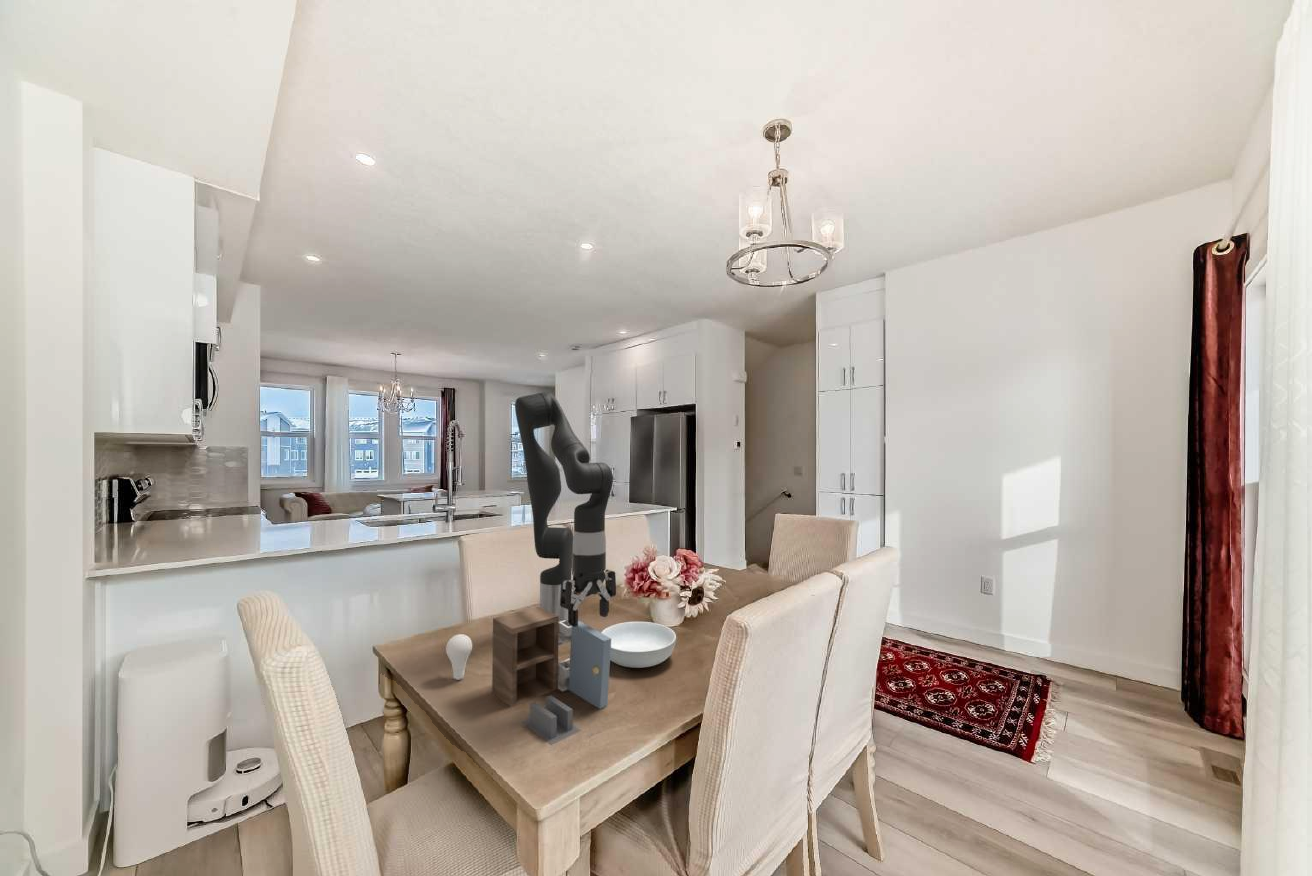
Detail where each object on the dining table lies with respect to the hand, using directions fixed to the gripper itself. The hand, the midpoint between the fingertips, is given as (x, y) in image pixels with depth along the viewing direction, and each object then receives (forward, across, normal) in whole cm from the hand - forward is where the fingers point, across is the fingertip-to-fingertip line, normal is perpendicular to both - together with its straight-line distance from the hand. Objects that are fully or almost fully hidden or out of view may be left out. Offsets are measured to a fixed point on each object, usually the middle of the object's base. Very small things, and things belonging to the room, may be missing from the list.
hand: (588, 620), depth 116 cm
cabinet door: (+18, +1, -2) cm, 18 cm away
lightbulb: (+18, +17, -30) cm, 39 cm away
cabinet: (+18, +7, -11) cm, 22 cm away
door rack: (+18, +13, +4) cm, 23 cm away
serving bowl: (+19, -23, -8) cm, 31 cm away
